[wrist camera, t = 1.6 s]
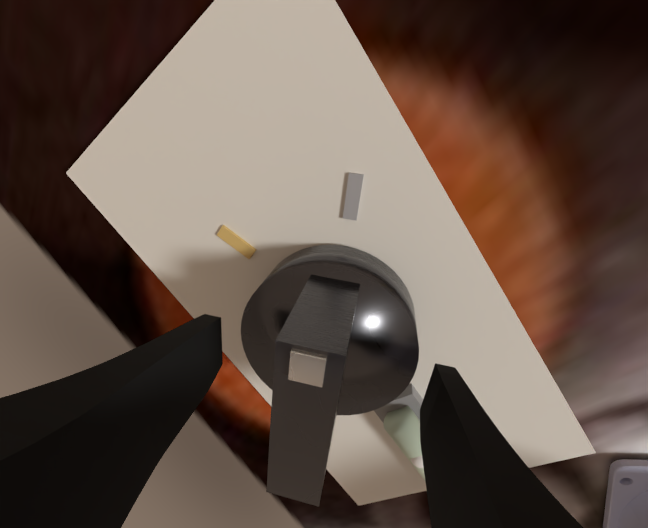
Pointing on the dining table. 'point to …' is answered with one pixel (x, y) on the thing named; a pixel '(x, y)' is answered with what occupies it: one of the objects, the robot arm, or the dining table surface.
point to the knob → (326, 354)
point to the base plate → (314, 219)
